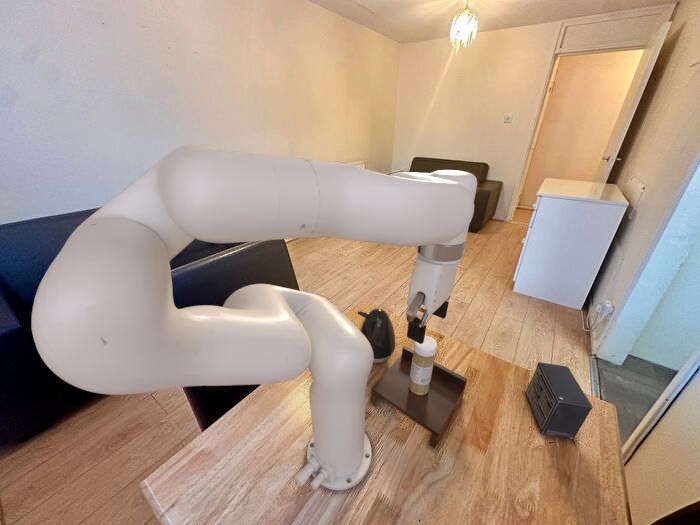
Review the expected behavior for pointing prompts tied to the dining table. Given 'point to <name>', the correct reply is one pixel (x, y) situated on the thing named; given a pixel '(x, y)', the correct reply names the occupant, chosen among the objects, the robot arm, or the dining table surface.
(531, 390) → the small box
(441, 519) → the dining table surface
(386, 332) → the pump dispenser
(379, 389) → the shelf
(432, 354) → the sprinkles bottle
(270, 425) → the dining table surface
